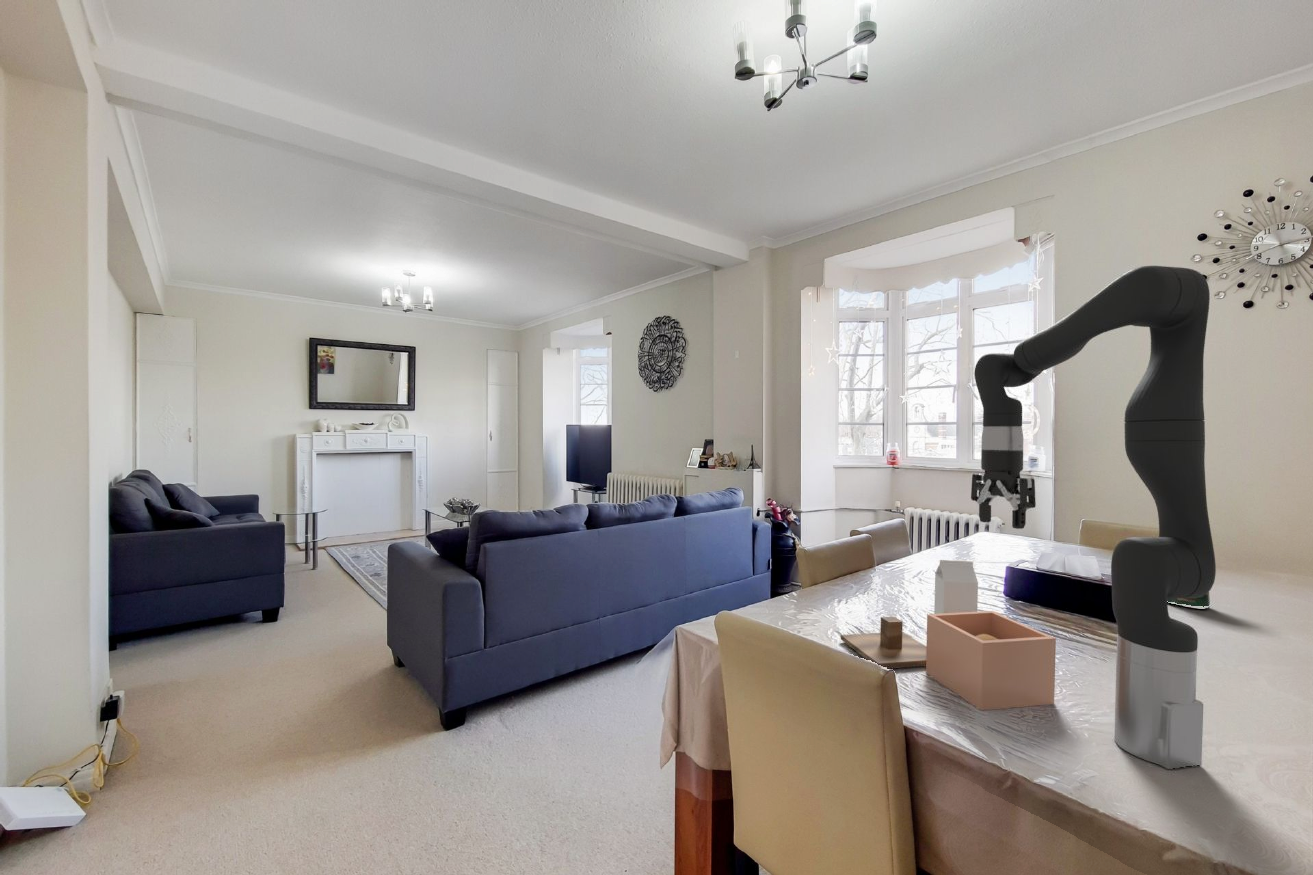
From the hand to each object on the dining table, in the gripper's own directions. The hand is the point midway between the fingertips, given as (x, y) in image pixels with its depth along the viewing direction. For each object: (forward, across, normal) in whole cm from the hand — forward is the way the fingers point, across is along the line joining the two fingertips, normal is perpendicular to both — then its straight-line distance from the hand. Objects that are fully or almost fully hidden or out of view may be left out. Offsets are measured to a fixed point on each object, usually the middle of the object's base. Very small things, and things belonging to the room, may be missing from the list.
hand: (1001, 525), depth 117 cm
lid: (+29, +9, +19) cm, 36 cm away
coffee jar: (+29, +24, -85) cm, 93 cm away
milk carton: (+30, +13, 0) cm, 32 cm away
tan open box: (+30, -8, +11) cm, 33 cm away
